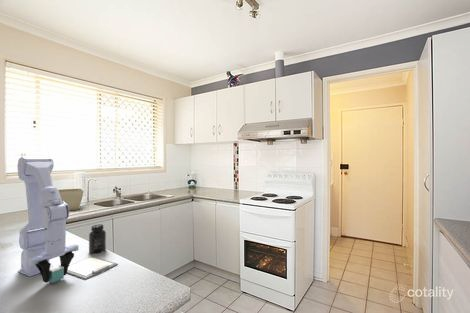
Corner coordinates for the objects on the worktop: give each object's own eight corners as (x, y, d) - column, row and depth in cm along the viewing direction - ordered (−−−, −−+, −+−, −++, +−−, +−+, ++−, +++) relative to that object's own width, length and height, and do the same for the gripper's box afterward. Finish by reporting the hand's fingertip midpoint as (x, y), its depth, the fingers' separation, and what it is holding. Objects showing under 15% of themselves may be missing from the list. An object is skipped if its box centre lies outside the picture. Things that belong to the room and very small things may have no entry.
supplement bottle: (108, 248, 111) (108, 223, 112) (100, 254, 105) (101, 227, 105) (94, 248, 111) (94, 223, 111) (85, 254, 104) (85, 227, 104)
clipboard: (59, 270, 89) (59, 267, 89) (92, 257, 101) (92, 254, 101) (85, 279, 82) (85, 276, 82) (117, 264, 94) (117, 261, 94)
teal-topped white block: (46, 283, 80) (46, 269, 80) (57, 278, 83) (58, 264, 83) (52, 285, 78) (52, 271, 78) (63, 280, 81) (63, 266, 82)
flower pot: (80, 206, 212) (80, 188, 212) (83, 209, 197) (83, 190, 198) (54, 209, 200) (54, 189, 200) (55, 213, 185) (55, 192, 185)
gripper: (36, 248, 73) (36, 291, 72) (83, 234, 86) (83, 271, 85) (25, 244, 76) (24, 286, 75) (72, 232, 89) (71, 267, 88)
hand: (55, 278), depth 81 cm, fingers open, 5 cm apart
